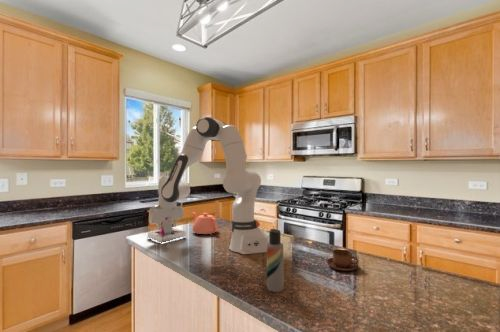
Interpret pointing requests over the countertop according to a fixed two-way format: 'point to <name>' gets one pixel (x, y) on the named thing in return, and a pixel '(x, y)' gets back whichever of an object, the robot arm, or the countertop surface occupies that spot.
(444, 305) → the countertop surface
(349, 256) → the cup and saucer
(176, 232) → the frame
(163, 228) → the supplement box
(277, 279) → the lotion bottle
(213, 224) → the teapot
